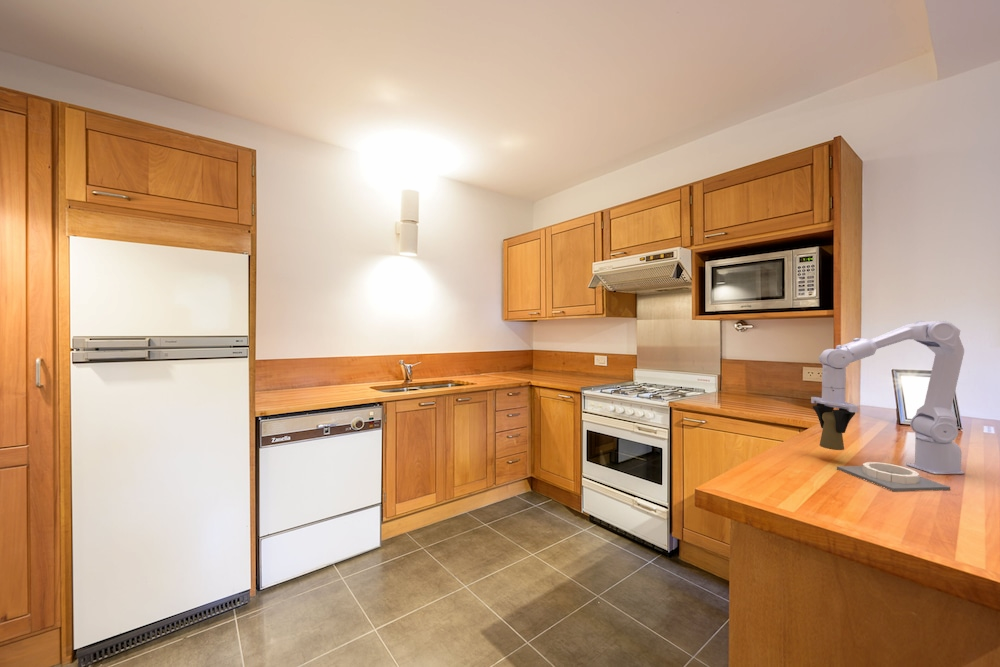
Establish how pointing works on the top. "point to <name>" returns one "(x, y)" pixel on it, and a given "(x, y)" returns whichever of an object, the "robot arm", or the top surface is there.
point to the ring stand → (892, 477)
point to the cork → (831, 433)
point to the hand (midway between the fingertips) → (832, 430)
